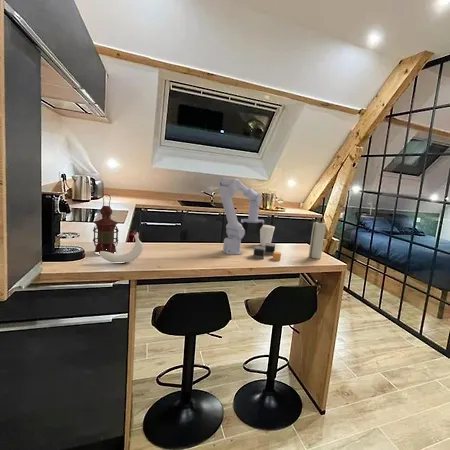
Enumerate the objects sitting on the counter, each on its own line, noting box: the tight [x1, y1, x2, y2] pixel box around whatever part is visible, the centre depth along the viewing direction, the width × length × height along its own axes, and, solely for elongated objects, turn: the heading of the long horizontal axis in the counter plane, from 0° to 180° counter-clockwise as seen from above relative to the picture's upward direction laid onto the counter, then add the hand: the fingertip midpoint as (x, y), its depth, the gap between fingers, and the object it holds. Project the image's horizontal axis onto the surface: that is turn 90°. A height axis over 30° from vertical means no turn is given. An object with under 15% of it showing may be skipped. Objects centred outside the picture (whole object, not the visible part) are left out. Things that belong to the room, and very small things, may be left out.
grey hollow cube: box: [252, 245, 265, 260], centre depth 172 cm, size 6×6×6 cm
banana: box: [99, 231, 144, 263], centre depth 140 cm, size 5×19×15 cm, turn 110°
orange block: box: [272, 250, 282, 262], centre depth 170 cm, size 4×4×4 cm
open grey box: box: [264, 243, 276, 256], centre depth 181 cm, size 6×6×6 cm
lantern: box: [92, 193, 120, 253], centre depth 152 cm, size 12×12×30 cm
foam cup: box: [259, 224, 276, 247], centre depth 200 cm, size 10×9×13 cm
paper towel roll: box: [308, 221, 327, 260], centre depth 180 cm, size 7×6×21 cm
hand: (251, 234), depth 186 cm, fingers open, 7 cm apart
